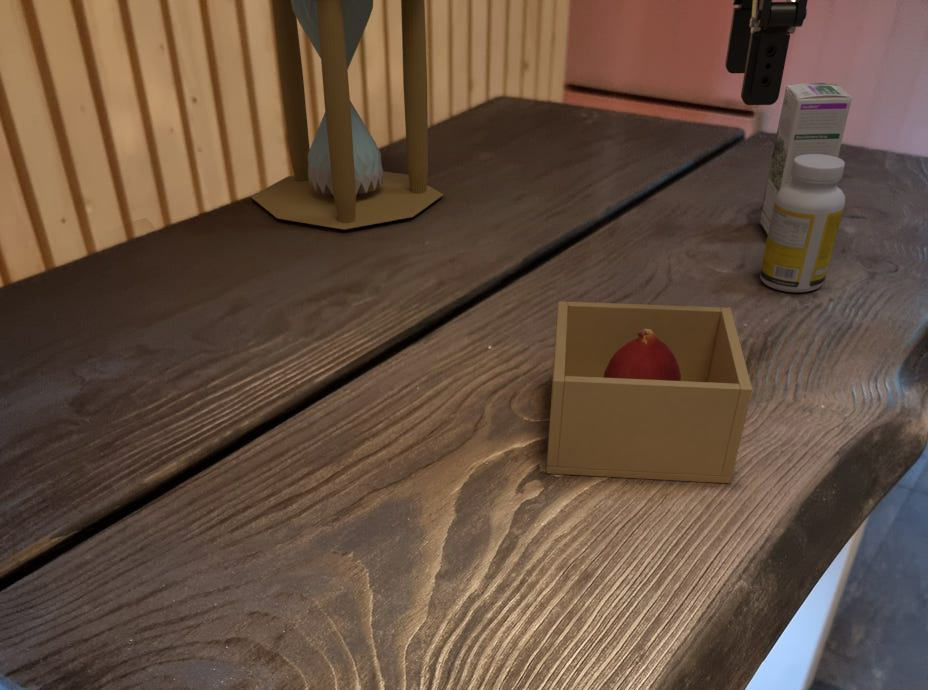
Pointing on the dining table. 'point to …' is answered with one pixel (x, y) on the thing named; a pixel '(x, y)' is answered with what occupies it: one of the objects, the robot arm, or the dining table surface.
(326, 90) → the hourglass
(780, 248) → the pill bottle
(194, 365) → the dining table surface
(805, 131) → the syrup box
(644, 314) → the open wooden box
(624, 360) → the onion
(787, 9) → the robot arm
